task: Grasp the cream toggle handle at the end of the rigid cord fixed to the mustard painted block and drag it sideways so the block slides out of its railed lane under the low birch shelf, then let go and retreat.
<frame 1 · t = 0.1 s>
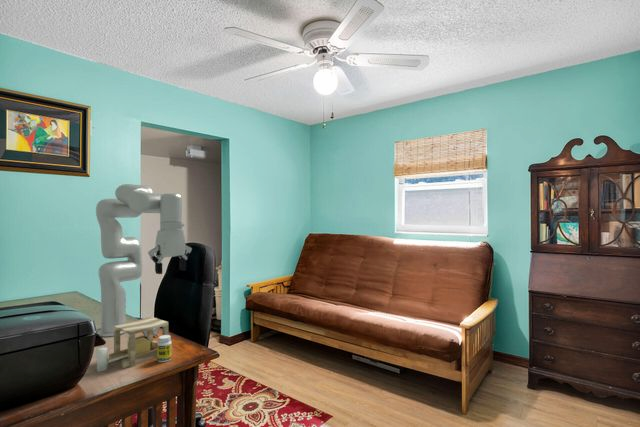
hand: (171, 271, 130), 31 cm above the table, fingers open, 9 cm apart
game die: (150, 337, 149), on the table
supplement bottle: (164, 360, 125), on the table
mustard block: (138, 357, 127), on the table
birch shelf: (141, 356, 128), on the table
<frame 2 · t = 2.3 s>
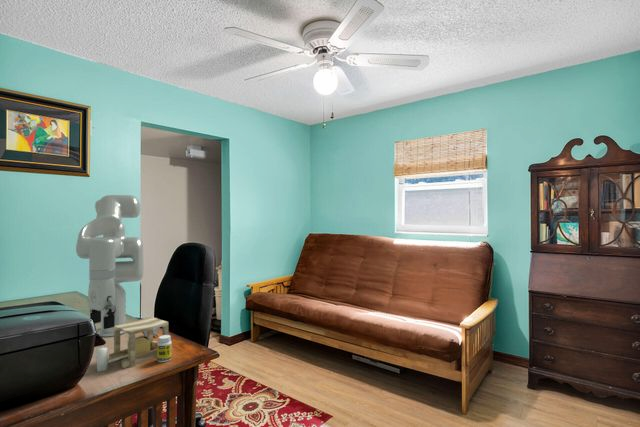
hand: (102, 325, 117), 15 cm above the table, fingers open, 9 cm apart
nothing on the table moved.
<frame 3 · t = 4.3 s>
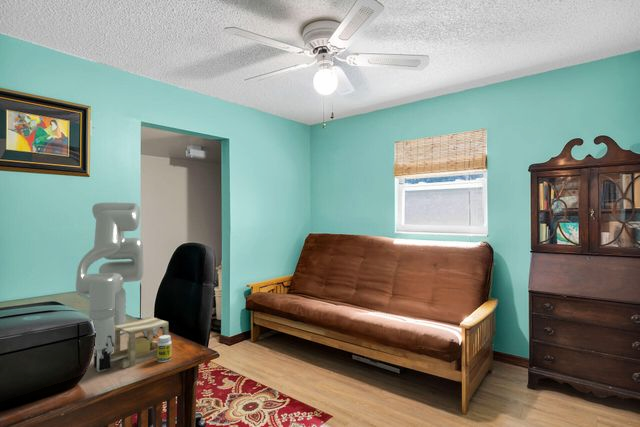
hand: (102, 367, 117), 1 cm above the table, fingers closed on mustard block, 3 cm apart
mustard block: (138, 357, 127), on the table, touching gripper
everything else where it was.
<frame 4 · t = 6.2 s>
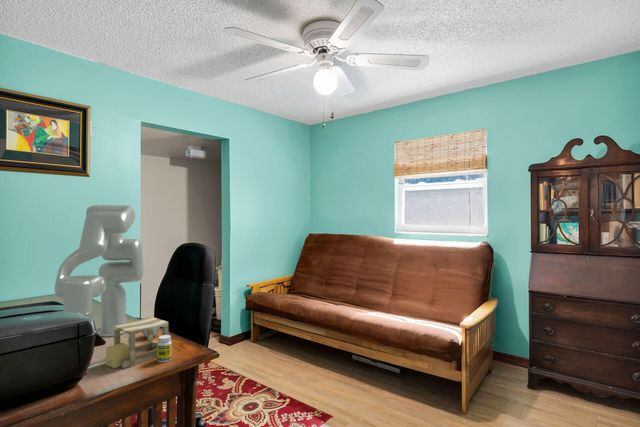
hand: (77, 374, 111), 1 cm above the table, fingers closed on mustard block, 3 cm apart
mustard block: (118, 363, 122), on the table, touching gripper
everything else where it was.
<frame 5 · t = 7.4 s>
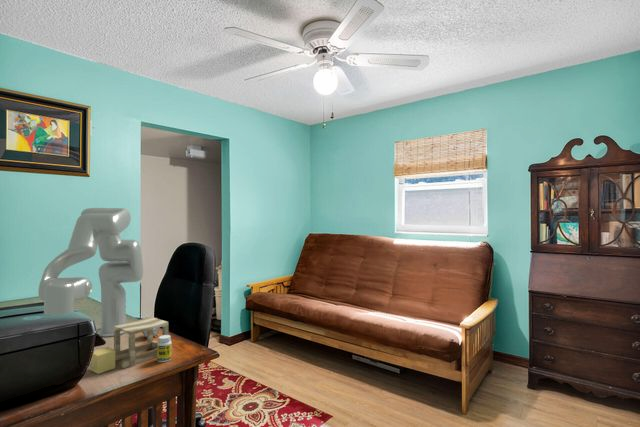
hand: (59, 381, 107), 1 cm above the table, fingers closed on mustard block, 3 cm apart
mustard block: (102, 368, 117), on the table, touching gripper
everything else where it was.
when the fingers open (1 cm above the table, at t = 8.5 s): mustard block stays where it is, on the table.
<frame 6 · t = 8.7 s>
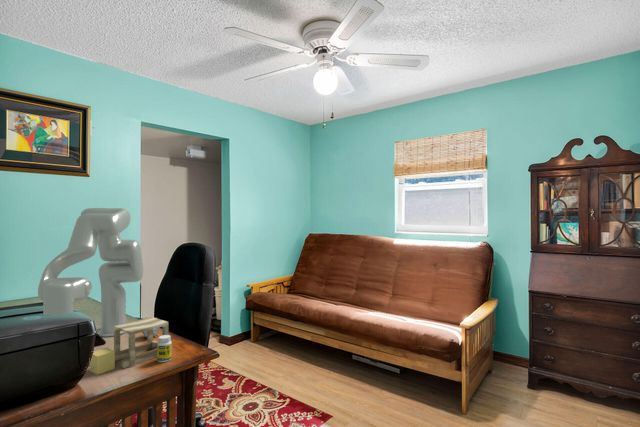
hand: (58, 380, 107), 1 cm above the table, fingers open, 4 cm apart
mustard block: (102, 369, 117), on the table
everything else where it was.
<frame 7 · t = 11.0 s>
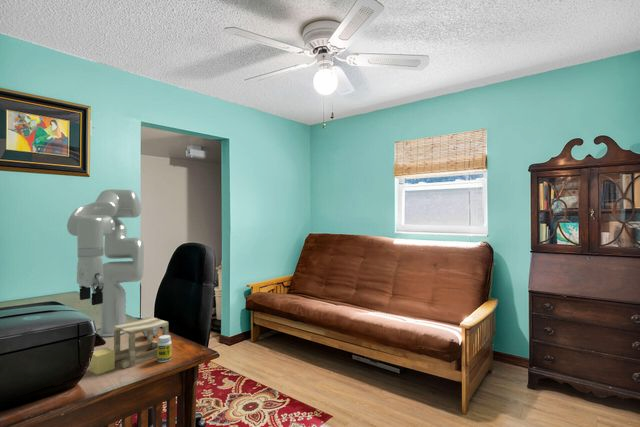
hand: (91, 301, 119), 23 cm above the table, fingers open, 9 cm apart
nothing on the table moved.
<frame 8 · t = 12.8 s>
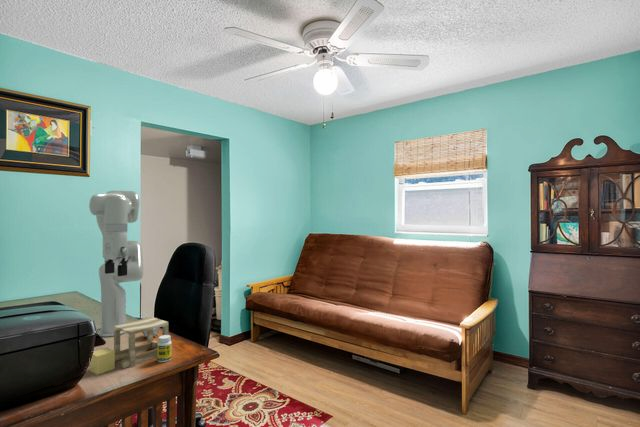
hand: (115, 274, 129), 30 cm above the table, fingers open, 9 cm apart
nothing on the table moved.
at the end: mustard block inside the target area (2.3 cm from its centre), on the table; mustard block moved 12.5 cm from its start; the gripper is holding nothing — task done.
